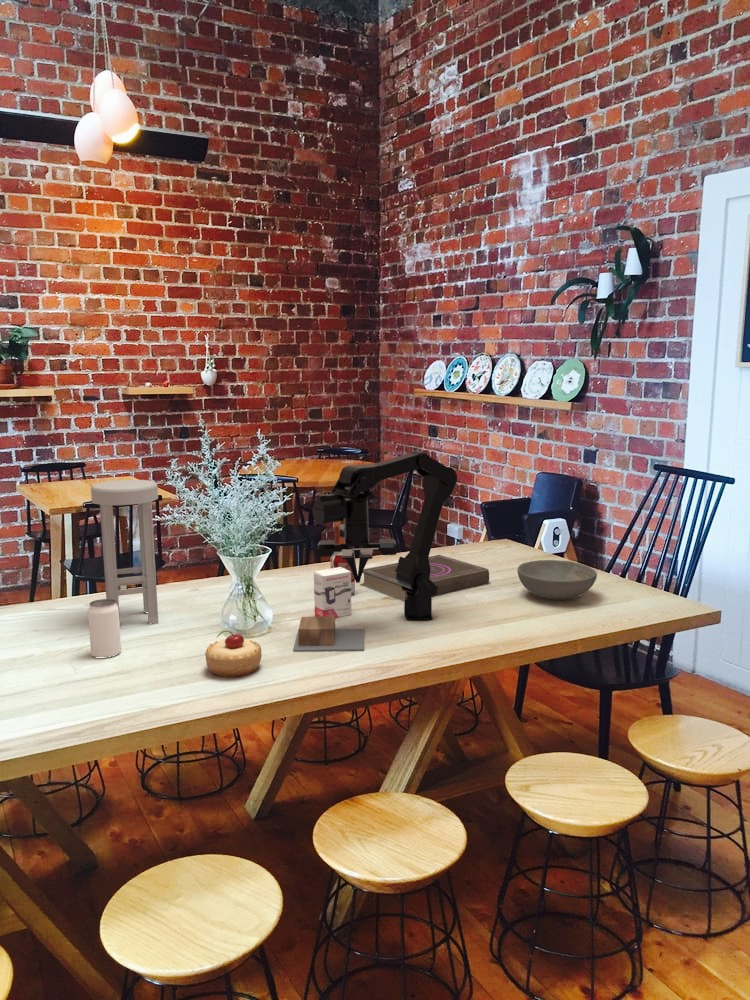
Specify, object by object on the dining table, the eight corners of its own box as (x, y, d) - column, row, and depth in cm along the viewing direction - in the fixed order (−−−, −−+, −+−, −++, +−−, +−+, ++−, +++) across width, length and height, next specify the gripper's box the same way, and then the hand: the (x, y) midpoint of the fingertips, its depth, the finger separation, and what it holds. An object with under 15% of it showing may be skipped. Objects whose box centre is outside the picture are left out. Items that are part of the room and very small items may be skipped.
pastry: (265, 678, 166) (265, 638, 164) (208, 684, 163) (207, 642, 161) (257, 656, 177) (257, 618, 176) (203, 661, 174) (202, 622, 172)
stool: (168, 624, 199) (160, 486, 193) (102, 633, 193) (93, 490, 187) (159, 607, 213) (152, 477, 207) (98, 614, 207) (89, 481, 201)
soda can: (359, 594, 223) (359, 552, 221) (339, 598, 219) (338, 556, 217) (346, 589, 229) (346, 548, 227) (326, 593, 225) (325, 551, 223)
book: (439, 570, 251) (439, 554, 250) (489, 585, 233) (489, 569, 232) (360, 586, 233) (360, 569, 232) (407, 604, 215) (407, 586, 214)
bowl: (569, 583, 233) (570, 557, 231) (611, 603, 213) (612, 574, 212) (504, 590, 226) (504, 563, 225) (541, 612, 207) (542, 582, 205)
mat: (364, 630, 194) (364, 628, 193) (364, 650, 180) (364, 649, 180) (298, 630, 193) (298, 629, 193) (293, 651, 180) (293, 649, 179)
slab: (335, 616, 190) (300, 616, 190) (333, 628, 181) (297, 629, 181) (335, 632, 191) (301, 632, 191) (333, 645, 182) (298, 646, 182)
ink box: (323, 620, 201) (322, 575, 199) (314, 615, 205) (313, 571, 203) (352, 614, 206) (351, 570, 204) (342, 609, 210) (341, 566, 208)
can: (97, 648, 182) (94, 598, 180) (125, 648, 182) (122, 598, 180) (86, 658, 176) (82, 606, 174) (115, 659, 176) (112, 606, 174)
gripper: (394, 511, 197) (395, 572, 200) (318, 513, 197) (320, 574, 200) (396, 520, 186) (397, 585, 189) (316, 522, 186) (318, 587, 189)
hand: (357, 582), depth 192 cm, fingers closed
